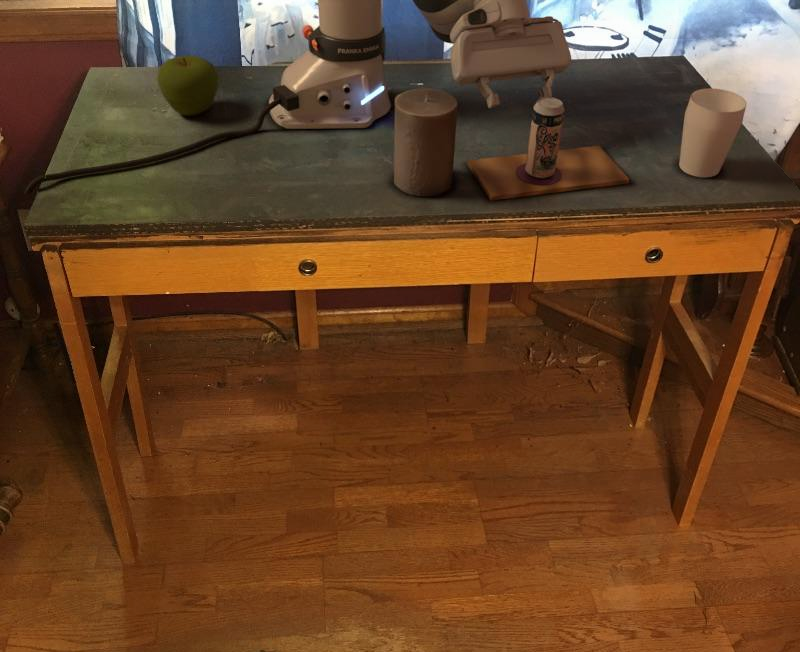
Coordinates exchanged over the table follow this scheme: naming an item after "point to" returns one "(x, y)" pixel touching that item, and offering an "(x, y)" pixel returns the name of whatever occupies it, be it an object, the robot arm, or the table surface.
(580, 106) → the table surface
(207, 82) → the apple
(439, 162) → the pillar candle
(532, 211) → the table surface
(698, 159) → the cup
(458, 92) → the table surface
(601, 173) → the wooden board
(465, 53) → the robot arm
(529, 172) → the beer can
